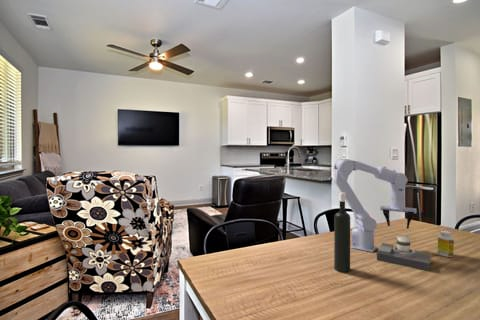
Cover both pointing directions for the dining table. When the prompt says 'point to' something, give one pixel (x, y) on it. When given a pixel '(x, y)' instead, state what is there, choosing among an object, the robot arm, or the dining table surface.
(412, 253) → the mount ring
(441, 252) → the supplement bottle
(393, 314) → the dining table surface
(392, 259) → the camera body
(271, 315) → the dining table surface
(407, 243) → the lens
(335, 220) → the wine bottle
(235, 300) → the dining table surface
